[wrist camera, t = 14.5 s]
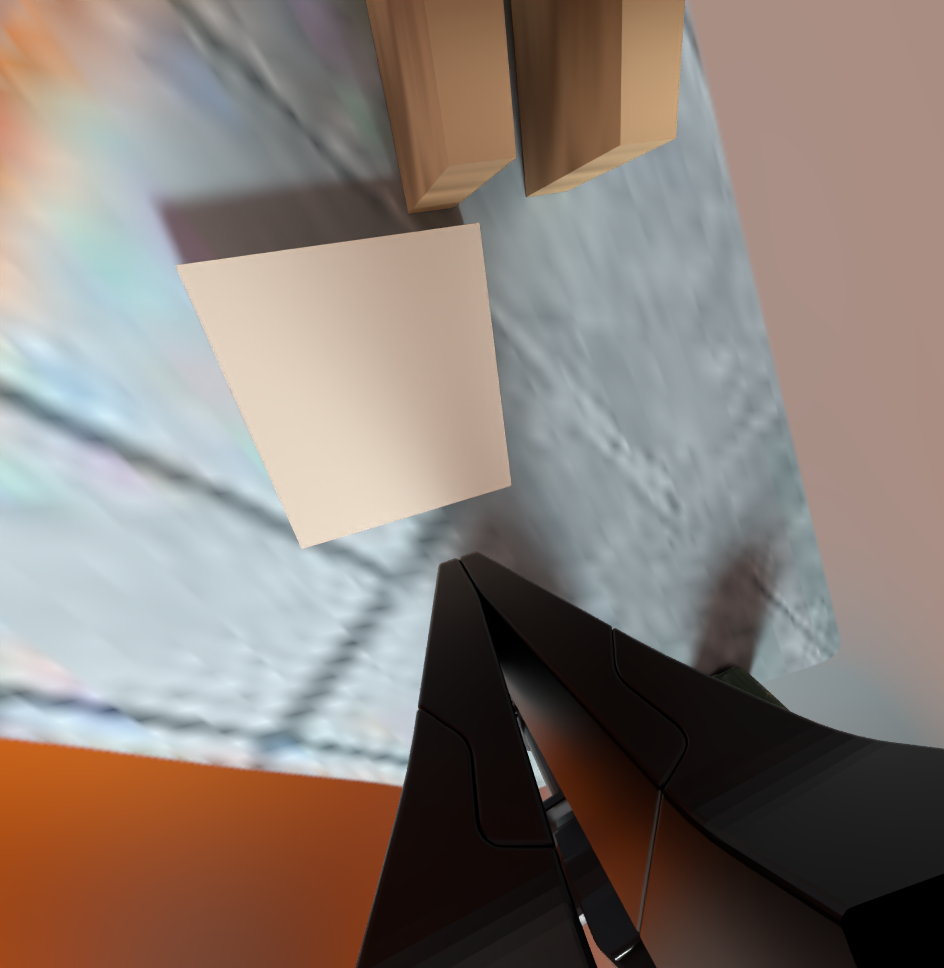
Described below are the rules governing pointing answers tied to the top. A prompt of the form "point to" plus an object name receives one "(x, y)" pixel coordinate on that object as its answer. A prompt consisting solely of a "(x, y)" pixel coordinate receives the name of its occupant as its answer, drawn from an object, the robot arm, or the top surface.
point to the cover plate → (361, 373)
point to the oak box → (524, 89)
